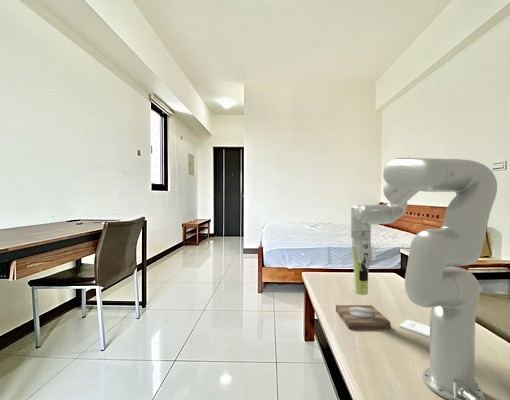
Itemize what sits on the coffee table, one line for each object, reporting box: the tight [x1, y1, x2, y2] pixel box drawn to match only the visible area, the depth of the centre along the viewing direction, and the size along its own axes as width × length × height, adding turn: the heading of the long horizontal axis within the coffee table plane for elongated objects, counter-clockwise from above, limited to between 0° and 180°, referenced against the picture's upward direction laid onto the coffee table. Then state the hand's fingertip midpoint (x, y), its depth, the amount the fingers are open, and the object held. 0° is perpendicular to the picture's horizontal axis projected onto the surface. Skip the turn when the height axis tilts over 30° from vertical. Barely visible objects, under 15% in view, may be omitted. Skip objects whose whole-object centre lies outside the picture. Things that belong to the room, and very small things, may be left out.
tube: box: [351, 246, 369, 296], centre depth 108 cm, size 6×5×20 cm
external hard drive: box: [399, 318, 430, 339], centre depth 98 cm, size 2×8×12 cm
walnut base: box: [335, 304, 391, 330], centre depth 108 cm, size 16×16×3 cm
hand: (360, 278), depth 108 cm, fingers closed on tube, 4 cm apart
